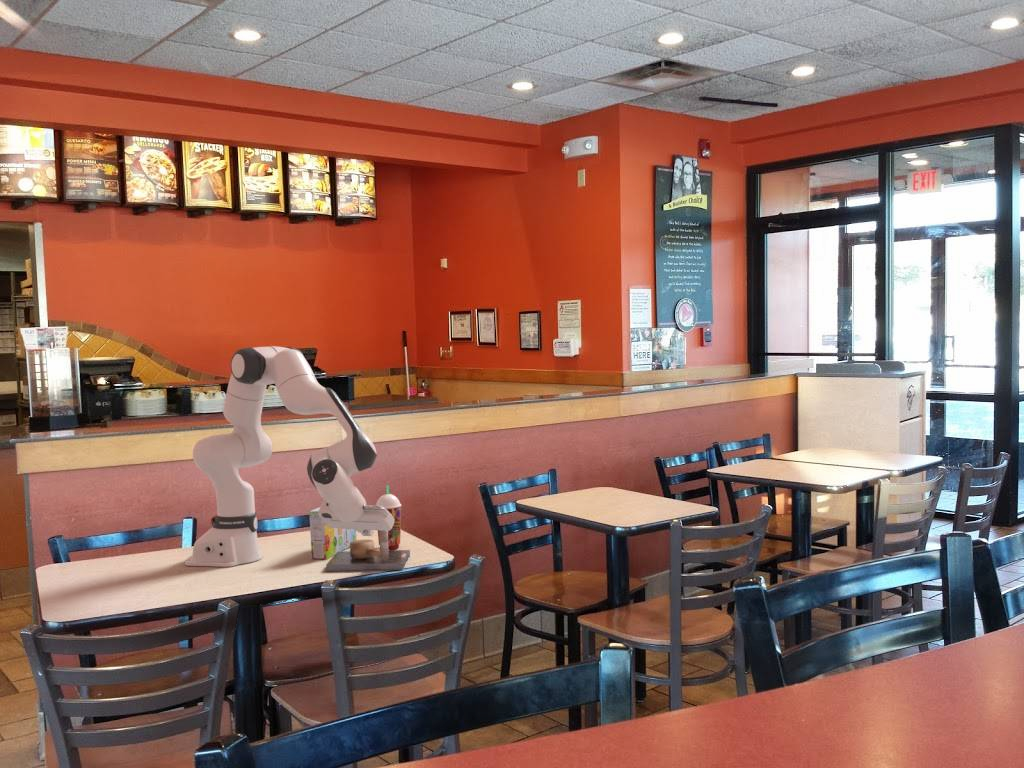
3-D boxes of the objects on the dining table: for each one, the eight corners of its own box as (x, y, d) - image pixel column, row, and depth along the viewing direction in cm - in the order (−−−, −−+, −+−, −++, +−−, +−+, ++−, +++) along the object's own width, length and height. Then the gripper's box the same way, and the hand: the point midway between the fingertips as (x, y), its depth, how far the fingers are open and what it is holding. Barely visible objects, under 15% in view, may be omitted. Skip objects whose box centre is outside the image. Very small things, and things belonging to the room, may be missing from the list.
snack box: (341, 543, 296) (339, 498, 295) (357, 544, 294) (355, 498, 294) (310, 559, 275) (308, 510, 275) (327, 560, 274) (325, 510, 273)
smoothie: (398, 551, 283) (396, 487, 282) (373, 550, 284) (370, 487, 283) (406, 545, 291) (403, 483, 290) (381, 544, 292) (378, 483, 291)
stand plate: (326, 571, 260) (326, 563, 260) (338, 558, 276) (337, 550, 276) (402, 569, 259) (402, 562, 259) (409, 556, 275) (409, 548, 275)
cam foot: (345, 556, 267) (343, 514, 267) (363, 551, 272) (362, 510, 272) (378, 563, 257) (377, 520, 257) (397, 558, 263) (395, 516, 262)
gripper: (386, 497, 241) (405, 526, 251) (321, 494, 248) (341, 523, 258) (379, 516, 237) (398, 545, 247) (312, 513, 244) (333, 541, 254)
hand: (368, 534), depth 252 cm, fingers closed
